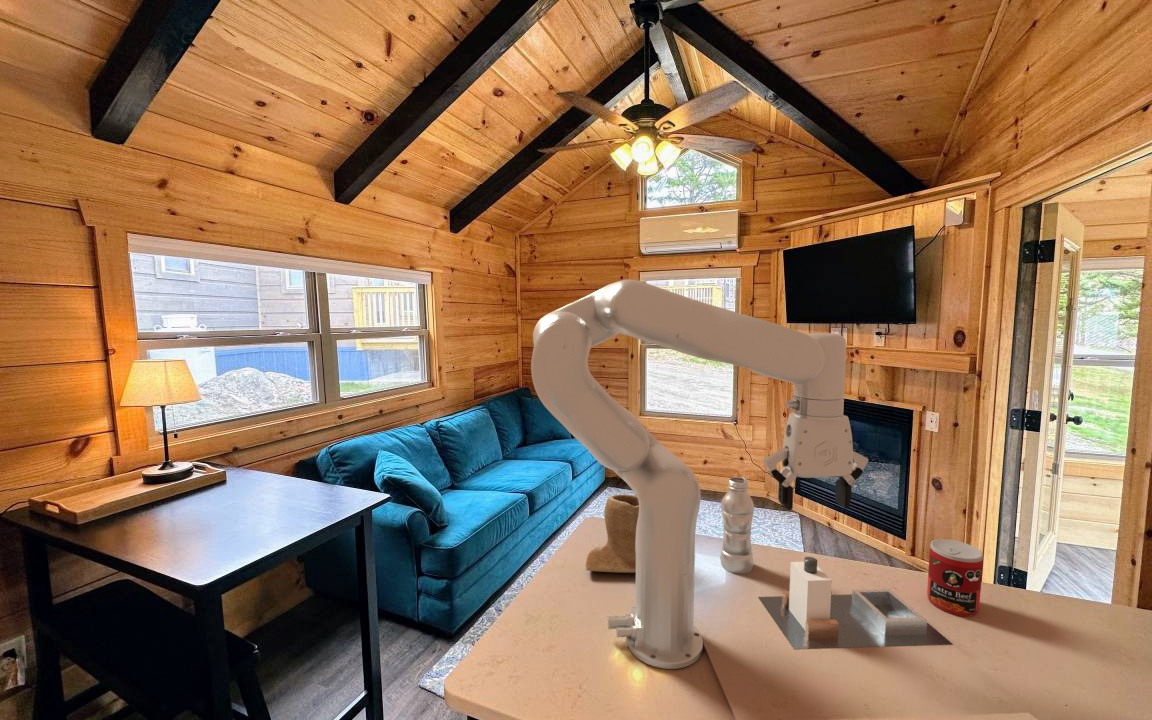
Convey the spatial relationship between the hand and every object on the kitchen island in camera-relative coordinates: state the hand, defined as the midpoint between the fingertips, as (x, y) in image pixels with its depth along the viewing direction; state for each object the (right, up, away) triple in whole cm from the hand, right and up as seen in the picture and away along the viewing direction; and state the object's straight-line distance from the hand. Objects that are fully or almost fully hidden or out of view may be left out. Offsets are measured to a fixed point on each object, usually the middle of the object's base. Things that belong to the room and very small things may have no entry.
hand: (814, 506), depth 81 cm
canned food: (+30, -21, +8) cm, 37 cm away
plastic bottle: (-7, -20, +20) cm, 29 cm away
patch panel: (+7, -22, +2) cm, 23 cm away
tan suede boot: (-31, -20, +23) cm, 43 cm away
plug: (0, -20, +2) cm, 21 cm away
